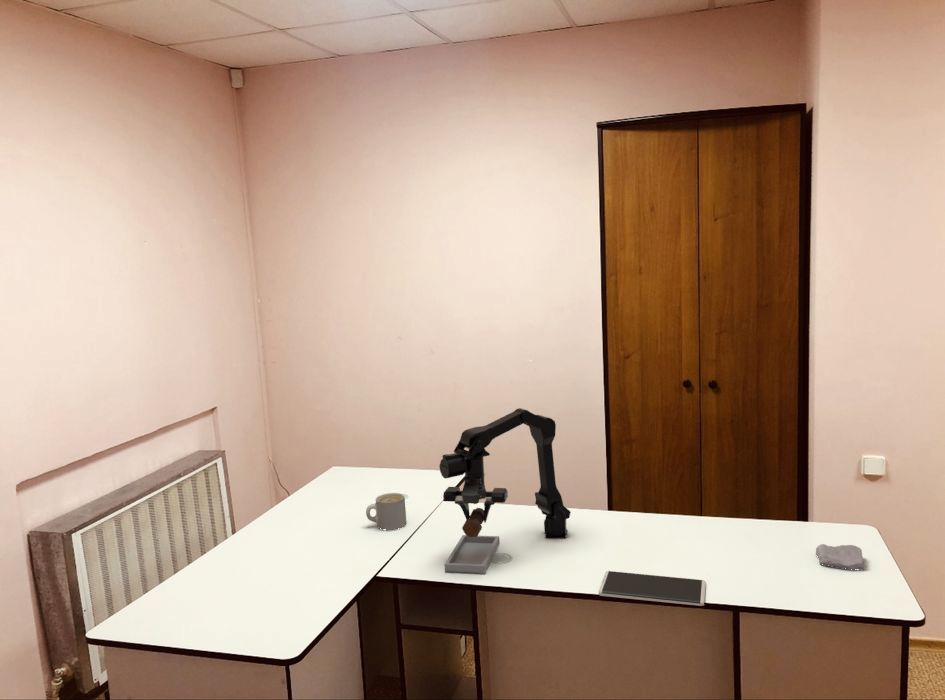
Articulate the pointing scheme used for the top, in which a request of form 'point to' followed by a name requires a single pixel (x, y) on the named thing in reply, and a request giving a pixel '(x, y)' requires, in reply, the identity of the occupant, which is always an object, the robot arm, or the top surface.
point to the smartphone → (653, 588)
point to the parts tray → (472, 555)
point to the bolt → (474, 523)
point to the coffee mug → (389, 511)
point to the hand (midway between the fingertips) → (476, 521)
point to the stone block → (840, 556)
